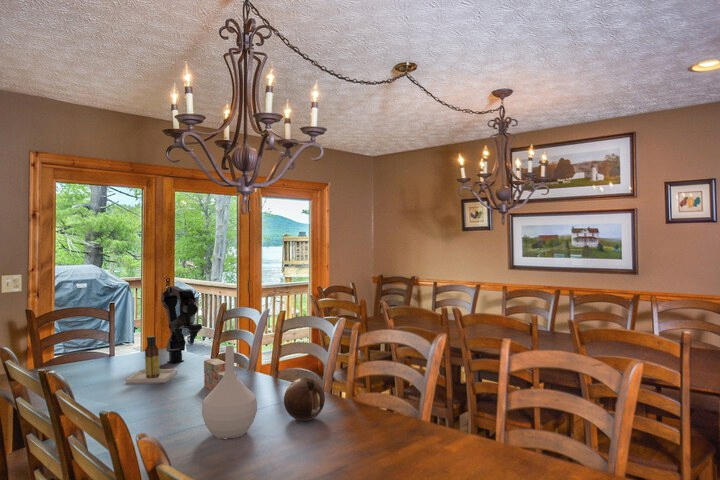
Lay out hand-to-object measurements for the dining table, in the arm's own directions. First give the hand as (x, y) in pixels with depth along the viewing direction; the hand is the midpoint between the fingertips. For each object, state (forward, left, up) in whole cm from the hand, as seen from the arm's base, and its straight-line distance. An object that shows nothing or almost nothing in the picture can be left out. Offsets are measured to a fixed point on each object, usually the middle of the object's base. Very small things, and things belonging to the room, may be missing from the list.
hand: (185, 342), depth 263 cm
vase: (+86, -61, -13) cm, 106 cm away
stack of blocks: (+47, -24, -13) cm, 54 cm away
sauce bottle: (+3, -23, -13) cm, 27 cm away
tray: (+3, -23, -13) cm, 27 cm away
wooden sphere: (+101, -38, -13) cm, 109 cm away
